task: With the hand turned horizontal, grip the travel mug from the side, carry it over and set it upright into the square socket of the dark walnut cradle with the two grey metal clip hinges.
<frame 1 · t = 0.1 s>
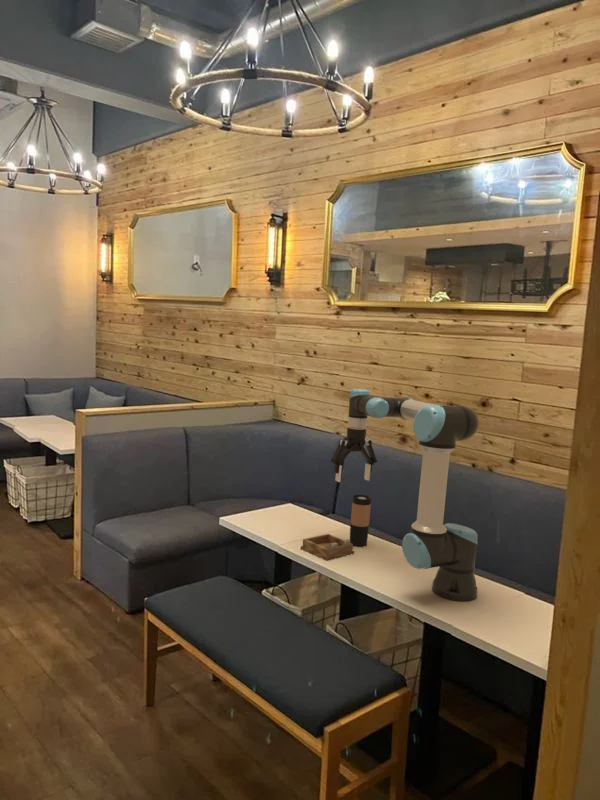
hand: (352, 480, 250), 28 cm above the table, tool pointing down, fingers open, 13 cm apart
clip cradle: (327, 551, 248), on the table
travel mug: (358, 544, 259), on the table
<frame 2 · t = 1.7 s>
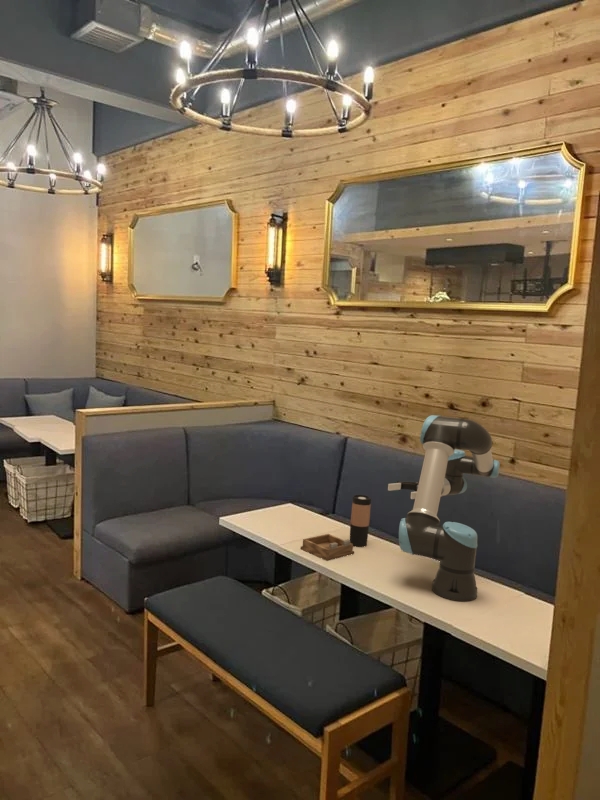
hand: (399, 491, 255), 24 cm above the table, tool horizontal, fingers open, 13 cm apart
nothing on the table moved.
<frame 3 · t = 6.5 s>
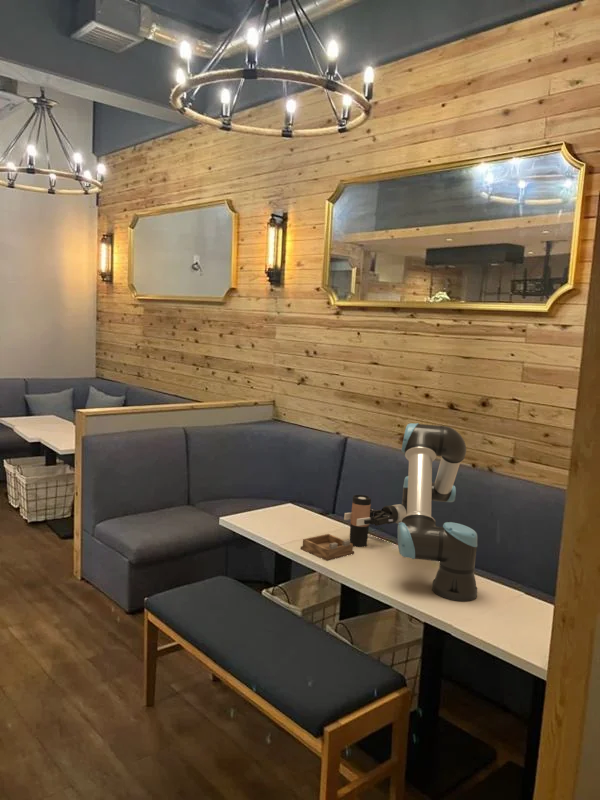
hand: (350, 519, 255), 11 cm above the table, tool horizontal, fingers closed on travel mug, 7 cm apart
travel mug: (358, 544, 259), on the table, touching gripper
when the fingers open (13 cm above the table, at t = 11.1 s): travel mug drops 1 cm, resting on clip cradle.
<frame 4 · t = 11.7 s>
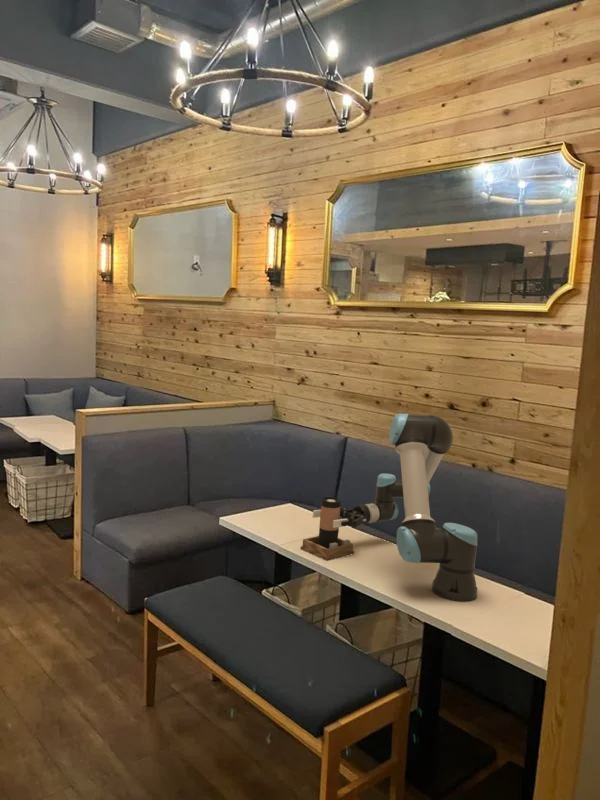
hand: (323, 519, 244), 13 cm above the table, tool horizontal, fingers open, 13 cm apart
travel mug: (327, 549, 248), point 1 cm above the table, touching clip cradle
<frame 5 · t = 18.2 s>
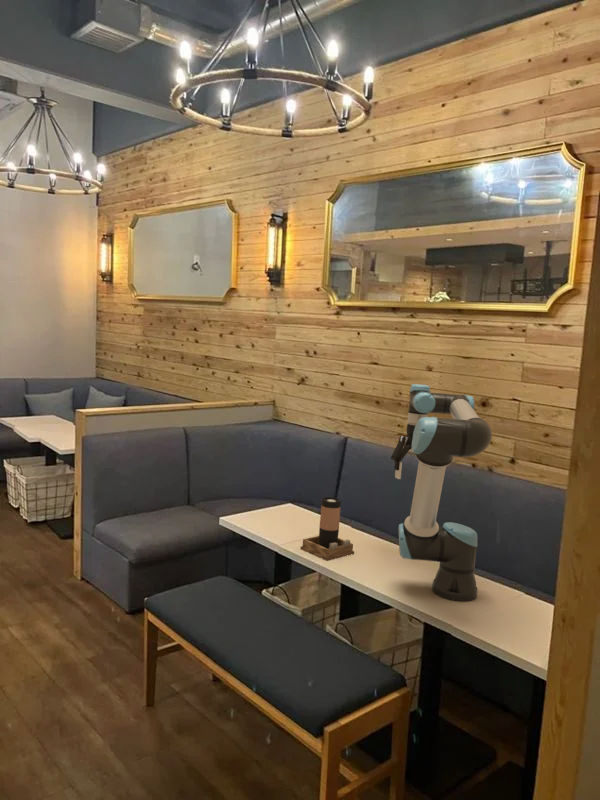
hand: (411, 477, 246), 32 cm above the table, tool pointing down, fingers open, 13 cm apart
nothing on the table moved.
at the end: travel mug 0.1 cm off-centre on the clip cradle, point 0.8 cm above the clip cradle's base; travel mug tilted 0°; the gripper is holding nothing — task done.
